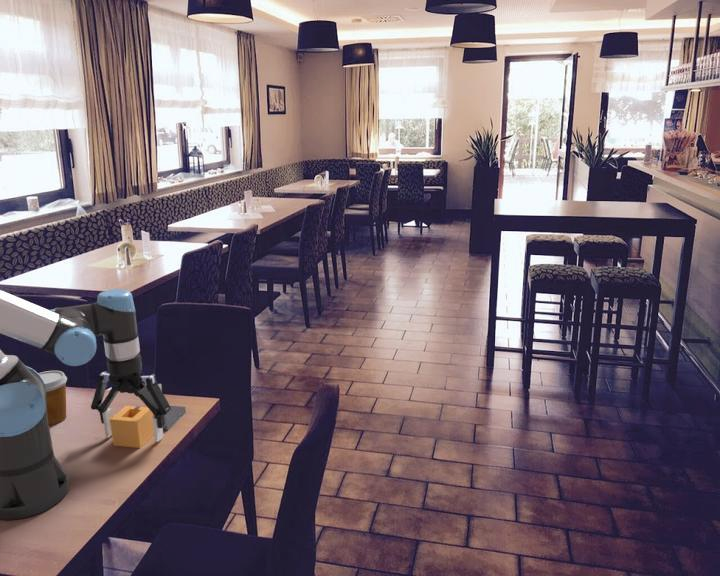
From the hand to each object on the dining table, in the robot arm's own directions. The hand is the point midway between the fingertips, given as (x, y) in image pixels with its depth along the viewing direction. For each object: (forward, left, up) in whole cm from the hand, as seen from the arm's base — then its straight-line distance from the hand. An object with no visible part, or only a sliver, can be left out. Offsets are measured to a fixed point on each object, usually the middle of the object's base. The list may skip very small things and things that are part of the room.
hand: (134, 436), depth 146 cm
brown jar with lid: (-7, +27, -1) cm, 27 cm away
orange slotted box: (0, 0, -1) cm, 1 cm away
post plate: (+9, +4, -1) cm, 10 cm away
